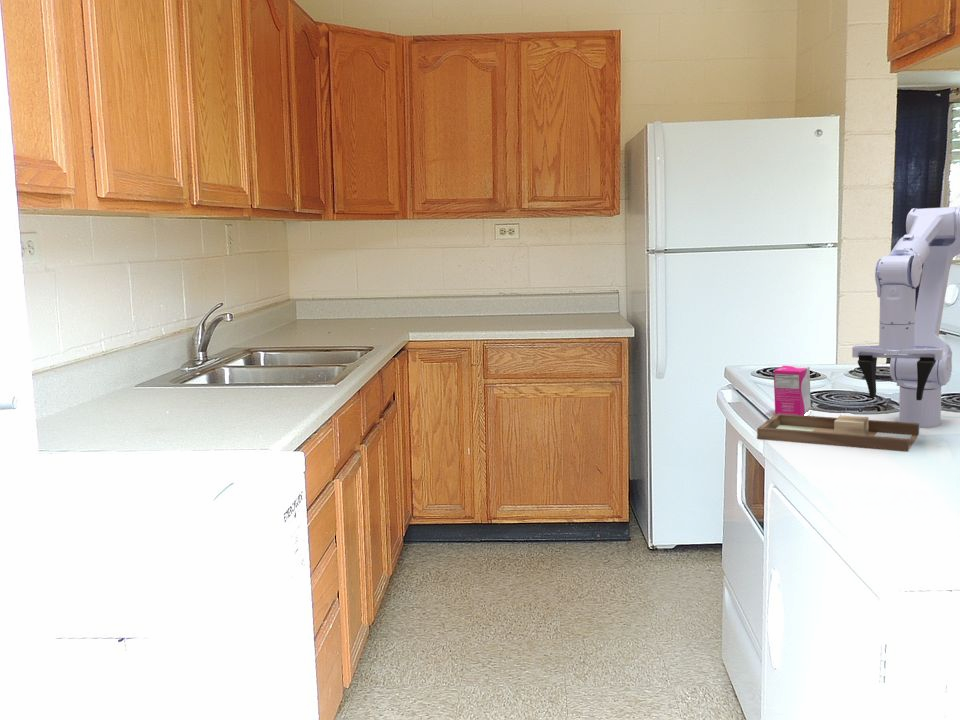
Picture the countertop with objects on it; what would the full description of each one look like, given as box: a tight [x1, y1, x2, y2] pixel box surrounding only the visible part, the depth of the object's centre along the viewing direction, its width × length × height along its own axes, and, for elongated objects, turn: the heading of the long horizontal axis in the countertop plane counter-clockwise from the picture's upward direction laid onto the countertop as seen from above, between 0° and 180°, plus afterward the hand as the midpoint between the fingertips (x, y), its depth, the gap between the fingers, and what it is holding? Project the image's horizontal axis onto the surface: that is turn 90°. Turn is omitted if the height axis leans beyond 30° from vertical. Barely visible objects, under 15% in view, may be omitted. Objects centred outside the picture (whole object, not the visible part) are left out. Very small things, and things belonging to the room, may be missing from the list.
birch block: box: [834, 414, 870, 436], centre depth 165 cm, size 5×5×4 cm
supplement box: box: [773, 365, 812, 415], centre depth 185 cm, size 6×6×12 cm
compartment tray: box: [756, 413, 920, 452], centre depth 167 cm, size 13×26×4 cm, turn 56°
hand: (895, 398), depth 160 cm, fingers open, 7 cm apart
